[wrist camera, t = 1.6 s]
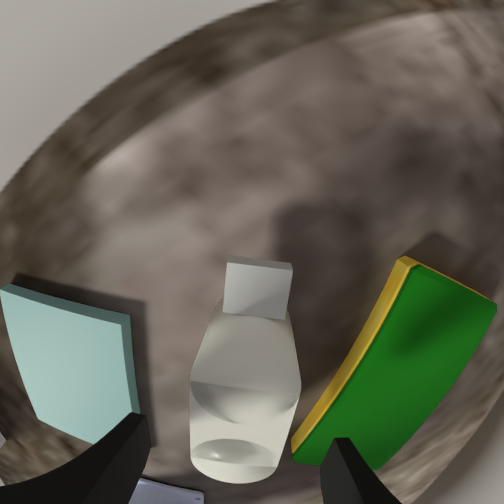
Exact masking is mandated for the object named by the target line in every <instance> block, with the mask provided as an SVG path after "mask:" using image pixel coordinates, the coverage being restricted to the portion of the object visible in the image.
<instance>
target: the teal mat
mask: <svg viewBox="0 0 504 504" xmlns="http://www.w3.org/2000/svg"><path fill="white" fill-rule="evenodd" d="M0 296H1V302H2V307H3V312H4V317H5V321H6V325H7V329H8V333H9V337H10V341H11V345H12V348H13V352H14V355H15V359H16V362H17V365H18V368H19V371H20V374H21V377H22V380H23V383H24V385H25V388H26V391H27V393H28V396H29V398H30V401H31V403H32V406H33V408H34V411H35V413H36V415H37V417H38V419H39V420H41V421H43V422H45V423H47V424H49V425H51V426H53V427H55V428H57V429H59V430H61V431H64V432H66V433H68V434H70V435H73V436H75V437H77V438H80V439H82V440H85V441H87V442H90V443H92V444H95V443H96V442H97V441H99V440H100V439H101V438H102V437H104V436H105V435H106V434H107V433H108V432H109V431H110V430H112V429H113V428H114V427H115V426H116V425H117V424H118V423H119V422H120V421H121V420H122V419H123V418H124V417H126V416H127V415H128V414H129V413H130V412H134V413H138V414H140V408H139V401H138V394H137V386H136V378H135V370H134V360H133V350H132V337H131V323H130V315H128V314H123V313H119V312H114V311H109V310H105V309H101V308H97V307H92V306H88V305H84V304H80V303H76V302H72V301H68V300H65V299H61V298H57V297H53V296H50V295H46V294H43V293H39V292H36V291H32V290H29V289H26V288H23V287H19V286H16V285H13V284H9V285H7V286H5V287H3V288H1V289H0Z"/></svg>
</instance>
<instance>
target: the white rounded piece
mask: <svg viewBox="0 0 504 504" xmlns="http://www.w3.org/2000/svg"><path fill="white" fill-rule="evenodd" d="M292 274H293V269H292V265H291V263H286V262H278V261H270V260H261V259H253V258H245V257H237V256H230V258H229V260H228V262H227V270H226V281H225V292H224V298H223V299H222V300H221V301H220V302H219V303H218V305H217V306H216V308H215V310H214V312H213V315H212V317H211V320H210V322H209V325H208V328H207V330H206V333H205V336H204V338H203V341H202V344H201V346H200V349H199V351H198V354H197V357H196V359H195V362H194V365H193V367H192V370H191V374H190V450H191V461H192V463H193V465H194V466H195V467H196V468H197V469H198V470H199V471H200V472H202V473H203V474H205V475H206V476H208V477H211V478H213V479H216V480H219V481H223V482H228V483H252V482H256V481H260V480H263V479H265V478H267V477H269V476H270V475H272V474H273V473H274V471H275V470H276V468H277V466H278V463H279V460H280V457H281V454H282V451H283V448H284V445H285V442H286V439H287V436H288V433H289V429H290V426H291V423H292V420H293V416H294V413H295V410H296V406H297V403H298V399H299V396H300V392H301V378H300V372H299V366H298V360H297V354H296V348H295V342H294V336H293V330H292V324H291V319H290V315H289V312H288V310H287V304H288V298H289V292H290V286H291V280H292Z"/></svg>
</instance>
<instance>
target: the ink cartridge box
mask: <svg viewBox="0 0 504 504" xmlns="http://www.w3.org/2000/svg"><path fill="white" fill-rule="evenodd" d="M5 442H6V439H5V438H4V436H3V435H2V434H1V432H0V448H1V447H2V446H3V445H4V443H5Z"/></svg>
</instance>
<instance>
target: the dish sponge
mask: <svg viewBox="0 0 504 504" xmlns="http://www.w3.org/2000/svg"><path fill="white" fill-rule="evenodd" d="M496 312H497V304H496V303H494V302H492V301H491V300H489V299H488V298H486V297H485V296H483V295H482V294H480V293H478V292H477V291H475V290H473V289H471V288H469V287H467V286H465V285H463V284H461V283H460V282H458V281H456V280H454V279H452V278H450V277H448V276H446V275H444V274H442V273H440V272H438V271H436V270H434V269H432V268H430V267H428V266H426V265H424V264H422V263H420V262H418V261H416V260H413V259H411V258H409V257H407V256H403V257H401V258H399V259H397V261H396V263H395V265H394V267H393V270H392V272H391V274H390V276H389V278H388V280H387V282H386V284H385V286H384V289H383V291H382V293H381V295H380V297H379V299H378V301H377V302H376V304H375V306H374V308H373V310H372V312H371V314H370V316H369V318H368V320H367V321H366V323H365V325H364V327H363V329H362V331H361V332H360V334H359V336H358V338H357V339H356V341H355V343H354V345H353V346H352V348H351V350H350V351H349V353H348V355H347V357H346V358H345V360H344V361H343V363H342V365H341V366H340V368H339V370H338V371H337V373H336V374H335V376H334V378H333V379H332V381H331V382H330V384H329V385H328V387H327V388H326V390H325V391H324V393H323V394H322V396H321V397H320V399H319V400H318V402H317V403H316V405H315V406H314V408H313V409H312V410H311V412H310V413H309V415H308V416H307V417H306V419H305V420H304V422H303V423H302V424H301V426H300V427H299V428H298V430H297V431H296V432H295V434H294V435H293V436H292V438H291V449H292V453H293V454H292V459H293V461H294V462H297V463H303V464H310V465H317V466H320V465H321V463H322V461H323V459H324V457H325V455H326V453H327V451H328V449H329V447H330V445H331V443H332V441H333V439H334V438H343V437H349V438H350V440H351V441H352V442H353V444H354V445H355V447H356V448H357V450H358V451H359V453H360V454H361V456H362V457H363V459H364V460H365V461H366V463H367V464H368V466H369V467H370V468H371V470H376V469H379V468H381V467H382V466H383V465H384V464H385V463H386V462H387V461H388V460H389V459H390V458H392V457H393V456H394V454H395V453H396V452H397V451H398V450H399V449H400V448H401V447H402V446H403V445H404V444H405V443H406V442H407V441H408V440H409V439H410V438H411V437H412V435H413V434H414V433H415V432H416V431H417V430H418V429H419V427H420V426H421V425H422V424H423V423H424V422H425V420H426V419H427V418H428V417H429V416H430V414H431V413H432V412H433V411H434V409H435V408H436V407H437V406H438V404H439V403H440V402H441V400H442V399H443V398H444V396H445V395H446V394H447V392H448V391H449V390H450V388H451V387H452V385H453V384H454V383H455V381H456V380H457V378H458V377H459V375H460V374H461V372H462V371H463V369H464V368H465V366H466V365H467V363H468V362H469V360H470V358H471V357H472V355H473V354H474V352H475V350H476V349H477V347H478V345H479V343H480V342H481V340H482V338H483V336H484V335H485V333H486V331H487V329H488V327H489V325H490V324H491V322H492V320H493V318H494V316H495V314H496Z"/></svg>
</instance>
